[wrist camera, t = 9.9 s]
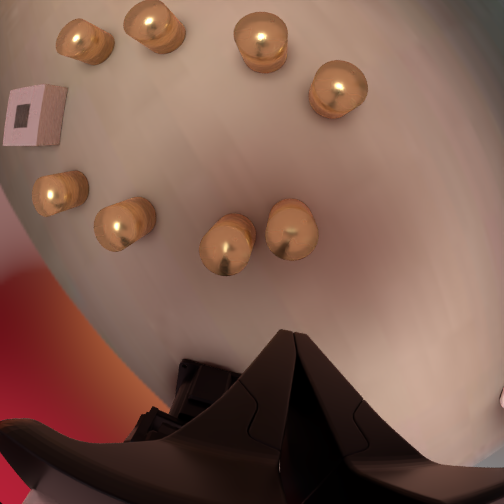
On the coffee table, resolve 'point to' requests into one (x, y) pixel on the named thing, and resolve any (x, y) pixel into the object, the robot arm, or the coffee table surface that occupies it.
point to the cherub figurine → (502, 399)
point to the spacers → (232, 225)
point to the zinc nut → (35, 115)
